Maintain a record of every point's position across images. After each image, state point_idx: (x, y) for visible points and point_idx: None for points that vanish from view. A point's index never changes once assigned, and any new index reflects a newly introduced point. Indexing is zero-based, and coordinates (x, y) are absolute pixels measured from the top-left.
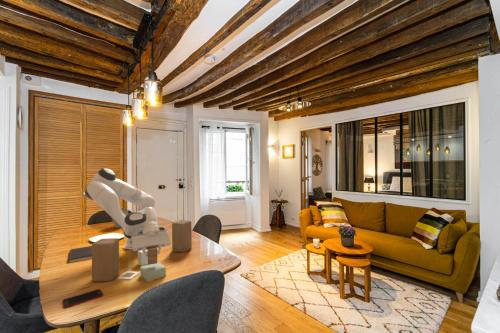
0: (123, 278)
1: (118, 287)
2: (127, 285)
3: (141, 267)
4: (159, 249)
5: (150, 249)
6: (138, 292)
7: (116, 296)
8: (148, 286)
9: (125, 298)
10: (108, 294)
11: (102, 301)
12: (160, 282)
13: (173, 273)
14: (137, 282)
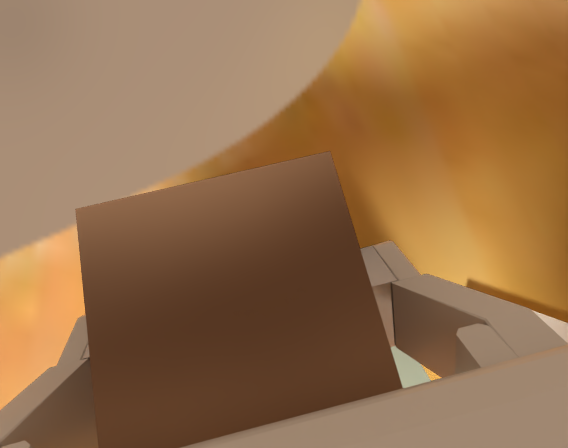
0: (556, 319)
1: (524, 170)
2: (459, 187)
3: (413, 361)
4: (51, 374)
5: (273, 177)
6: (335, 63)
7: (477, 45)
8: (276, 131)
9: (403, 11)
10: (551, 82)
11: (544, 8)
12: (184, 174)
13: (60, 336)
14: (388, 222)
